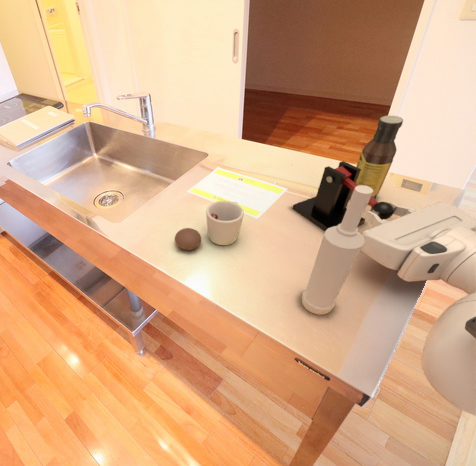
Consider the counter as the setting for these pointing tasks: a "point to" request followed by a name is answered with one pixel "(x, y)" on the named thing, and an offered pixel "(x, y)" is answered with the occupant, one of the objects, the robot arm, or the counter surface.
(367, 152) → the sauce bottle
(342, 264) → the bottle
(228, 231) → the cup
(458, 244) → the robot arm
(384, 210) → the lever
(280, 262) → the counter surface
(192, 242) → the egg
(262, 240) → the counter surface
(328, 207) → the press
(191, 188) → the counter surface
